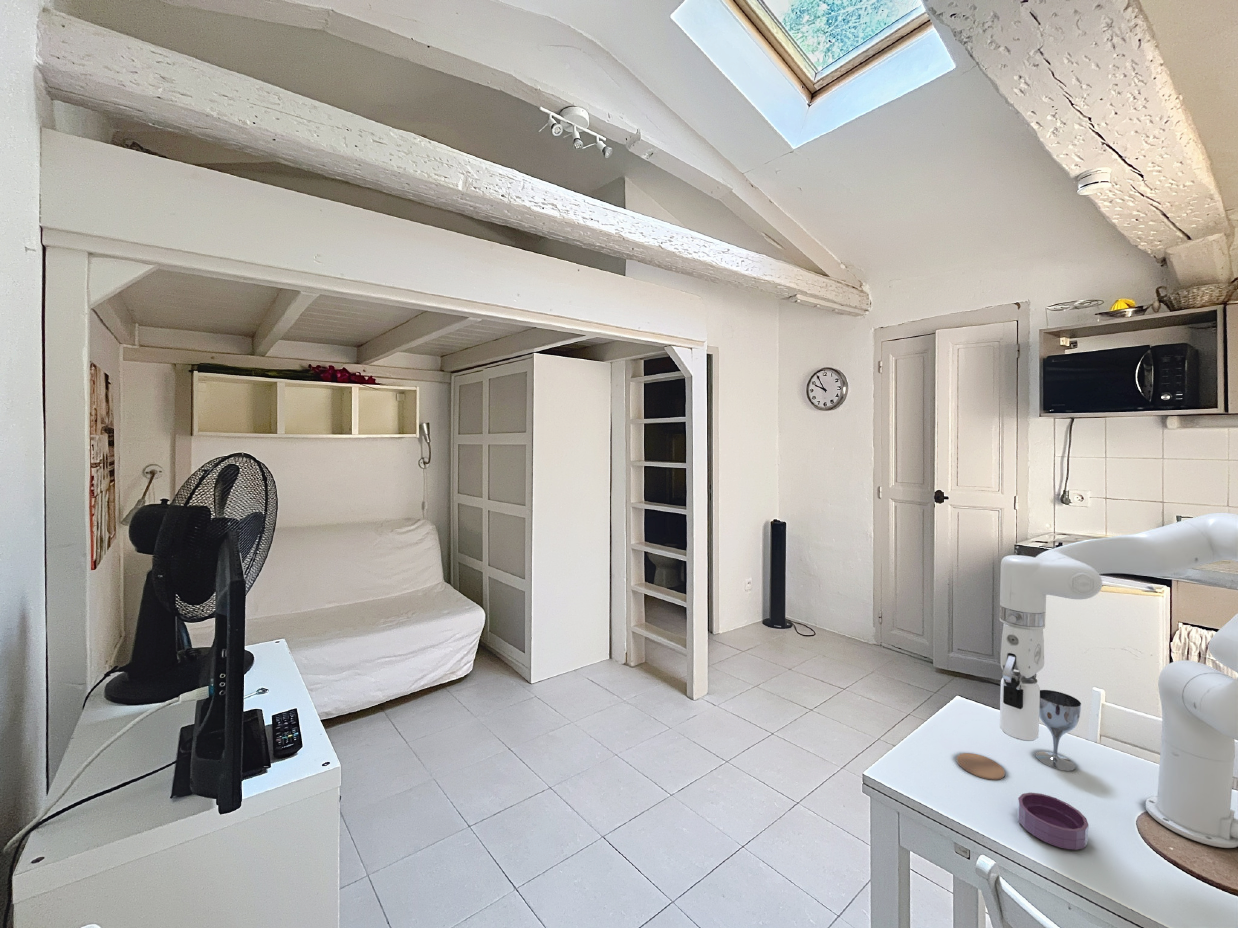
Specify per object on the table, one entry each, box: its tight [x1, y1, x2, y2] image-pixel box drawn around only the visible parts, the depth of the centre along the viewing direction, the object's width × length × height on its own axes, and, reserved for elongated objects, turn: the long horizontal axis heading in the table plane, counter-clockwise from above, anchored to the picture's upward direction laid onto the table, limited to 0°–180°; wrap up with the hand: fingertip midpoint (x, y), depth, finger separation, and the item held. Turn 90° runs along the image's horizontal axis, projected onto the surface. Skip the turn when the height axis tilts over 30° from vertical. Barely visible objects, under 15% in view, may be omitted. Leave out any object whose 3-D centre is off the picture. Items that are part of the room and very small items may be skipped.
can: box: [999, 670, 1041, 742], centre depth 109 cm, size 6×6×12 cm
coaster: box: [956, 752, 1006, 781], centre depth 119 cm, size 9×9×1 cm
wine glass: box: [1034, 689, 1082, 772], centre depth 121 cm, size 8×8×15 cm
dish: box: [1016, 792, 1090, 851], centre depth 100 cm, size 10×10×4 cm
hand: (1019, 699), depth 109 cm, fingers closed on can, 6 cm apart
